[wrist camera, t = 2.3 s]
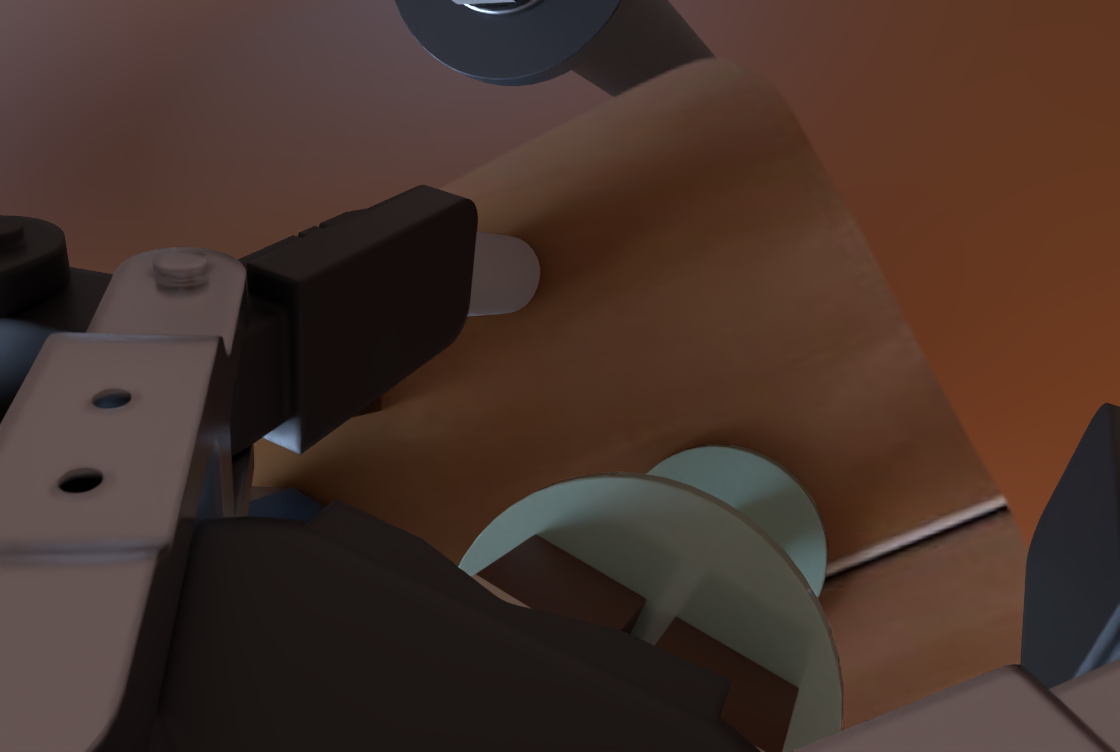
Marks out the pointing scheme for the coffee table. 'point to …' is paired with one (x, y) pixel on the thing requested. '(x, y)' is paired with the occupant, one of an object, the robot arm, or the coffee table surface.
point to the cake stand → (703, 560)
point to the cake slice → (738, 685)
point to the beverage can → (502, 274)
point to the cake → (560, 586)
